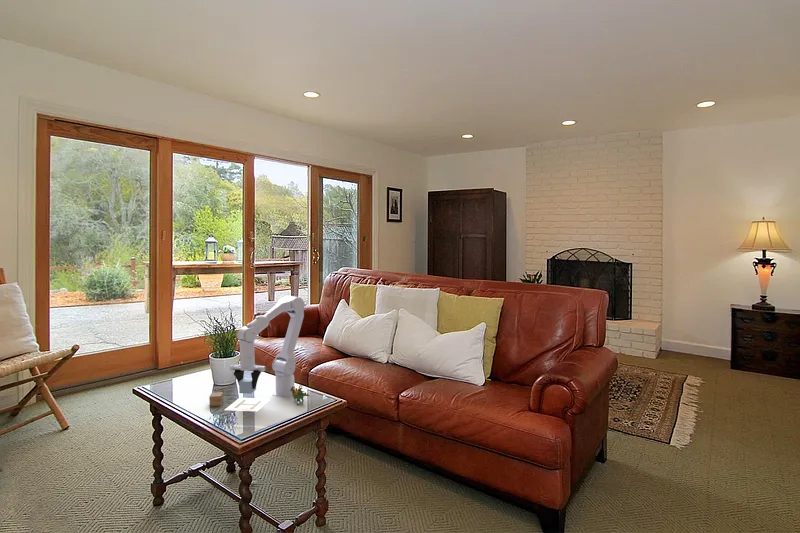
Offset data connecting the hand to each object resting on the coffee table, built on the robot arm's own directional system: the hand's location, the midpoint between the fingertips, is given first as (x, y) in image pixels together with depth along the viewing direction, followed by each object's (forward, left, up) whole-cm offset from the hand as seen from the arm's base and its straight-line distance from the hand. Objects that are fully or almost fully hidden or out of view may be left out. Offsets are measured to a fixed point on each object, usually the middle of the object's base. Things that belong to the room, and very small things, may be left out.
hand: (247, 387), depth 185 cm
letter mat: (0, 0, -8) cm, 8 cm away
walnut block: (+1, -14, -8) cm, 16 cm away
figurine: (-4, +21, -8) cm, 23 cm away
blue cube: (0, 0, -2) cm, 2 cm away
